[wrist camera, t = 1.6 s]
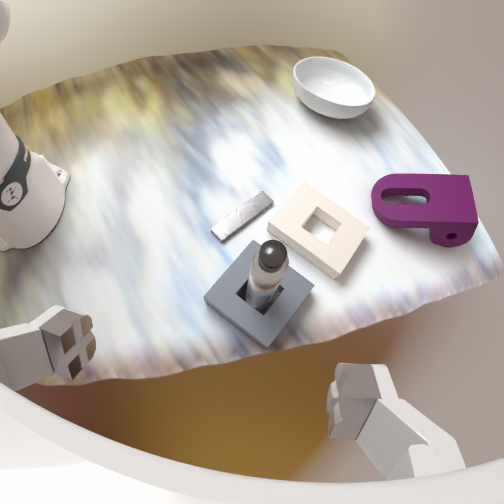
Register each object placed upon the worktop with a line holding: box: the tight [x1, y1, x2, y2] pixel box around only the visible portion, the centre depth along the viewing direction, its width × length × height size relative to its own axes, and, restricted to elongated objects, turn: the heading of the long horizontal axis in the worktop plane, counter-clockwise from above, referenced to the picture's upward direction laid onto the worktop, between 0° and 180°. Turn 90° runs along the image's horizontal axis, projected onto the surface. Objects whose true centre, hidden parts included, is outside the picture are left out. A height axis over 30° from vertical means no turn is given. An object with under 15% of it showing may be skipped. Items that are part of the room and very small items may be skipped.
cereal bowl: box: [292, 57, 375, 119], centre depth 54 cm, size 17×17×7 cm
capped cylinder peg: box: [246, 240, 289, 309], centre depth 34 cm, size 3×3×15 cm
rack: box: [267, 182, 369, 280], centre depth 44 cm, size 12×9×2 cm
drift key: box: [211, 191, 274, 243], centre depth 45 cm, size 10×2×1 cm, turn 132°
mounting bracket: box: [371, 174, 478, 247], centre depth 46 cm, size 9×8×18 cm
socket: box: [204, 240, 314, 349], centre depth 39 cm, size 10×10×2 cm
